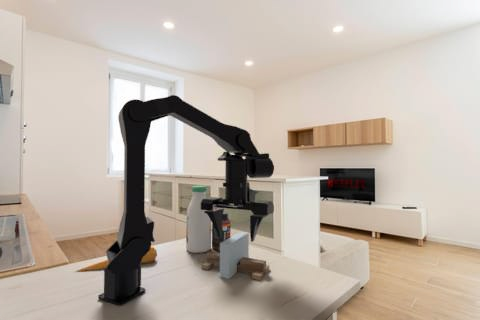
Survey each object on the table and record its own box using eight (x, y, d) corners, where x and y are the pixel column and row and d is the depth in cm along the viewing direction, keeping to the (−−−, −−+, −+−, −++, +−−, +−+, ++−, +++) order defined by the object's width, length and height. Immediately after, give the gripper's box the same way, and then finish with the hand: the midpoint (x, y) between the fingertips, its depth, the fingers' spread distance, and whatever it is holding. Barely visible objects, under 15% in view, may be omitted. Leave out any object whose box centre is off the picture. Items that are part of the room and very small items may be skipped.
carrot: (156, 261, 74) (154, 245, 75) (158, 260, 70) (155, 243, 71) (74, 281, 65) (73, 263, 67) (71, 281, 61) (70, 262, 63)
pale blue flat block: (228, 278, 61) (228, 244, 61) (219, 277, 62) (219, 243, 62) (248, 261, 71) (248, 232, 72) (240, 260, 72) (240, 231, 73)
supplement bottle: (230, 251, 80) (230, 214, 81) (210, 251, 80) (211, 214, 80) (230, 245, 86) (230, 211, 87) (212, 244, 86) (213, 211, 86)
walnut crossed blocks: (259, 280, 60) (259, 267, 60) (201, 268, 67) (201, 256, 67) (269, 269, 66) (269, 257, 66) (215, 259, 73) (215, 248, 73)
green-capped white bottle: (215, 248, 83) (216, 185, 83) (200, 255, 76) (200, 187, 77) (197, 244, 87) (197, 184, 87) (180, 250, 80) (181, 186, 81)
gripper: (279, 178, 70) (279, 235, 70) (220, 176, 78) (219, 228, 78) (266, 180, 60) (266, 247, 60) (199, 178, 68) (198, 237, 68)
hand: (236, 239), depth 67 cm, fingers open, 9 cm apart
